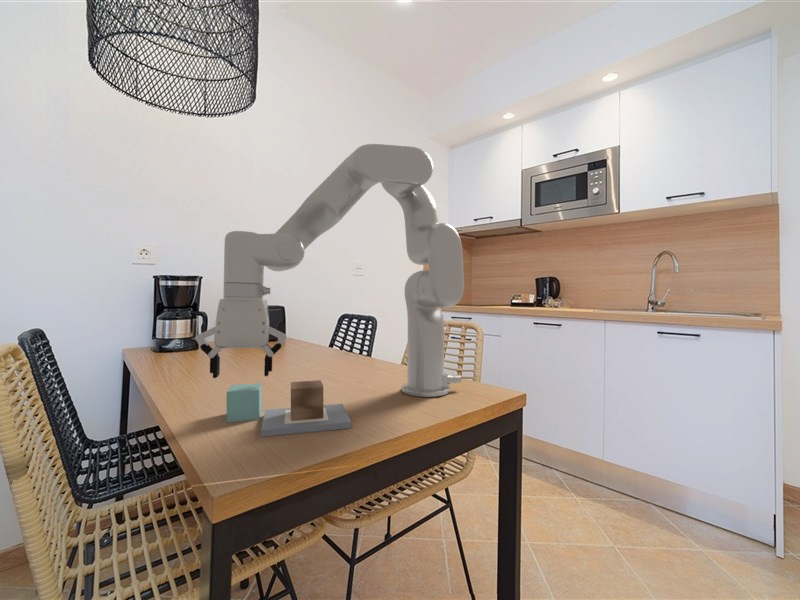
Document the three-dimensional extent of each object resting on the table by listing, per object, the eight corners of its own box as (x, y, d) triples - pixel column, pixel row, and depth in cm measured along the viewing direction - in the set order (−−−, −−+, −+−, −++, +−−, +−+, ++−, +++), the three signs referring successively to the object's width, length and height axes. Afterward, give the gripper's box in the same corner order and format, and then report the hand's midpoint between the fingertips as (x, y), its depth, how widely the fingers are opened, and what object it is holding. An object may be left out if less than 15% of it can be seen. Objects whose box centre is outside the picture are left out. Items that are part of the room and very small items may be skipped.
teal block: (261, 410, 81) (261, 383, 81) (259, 419, 75) (259, 390, 75) (231, 413, 79) (231, 384, 79) (226, 422, 74) (226, 392, 73)
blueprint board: (342, 409, 82) (342, 403, 82) (351, 427, 70) (351, 421, 70) (265, 415, 77) (265, 409, 77) (260, 436, 66) (260, 429, 66)
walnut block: (320, 408, 78) (320, 380, 78) (323, 418, 72) (323, 387, 72) (290, 411, 76) (290, 382, 76) (290, 421, 70) (290, 389, 70)
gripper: (287, 293, 83) (286, 371, 83) (201, 291, 78) (199, 373, 78) (287, 293, 76) (285, 378, 76) (192, 291, 71) (190, 381, 71)
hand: (241, 375), depth 77 cm, fingers open, 9 cm apart
